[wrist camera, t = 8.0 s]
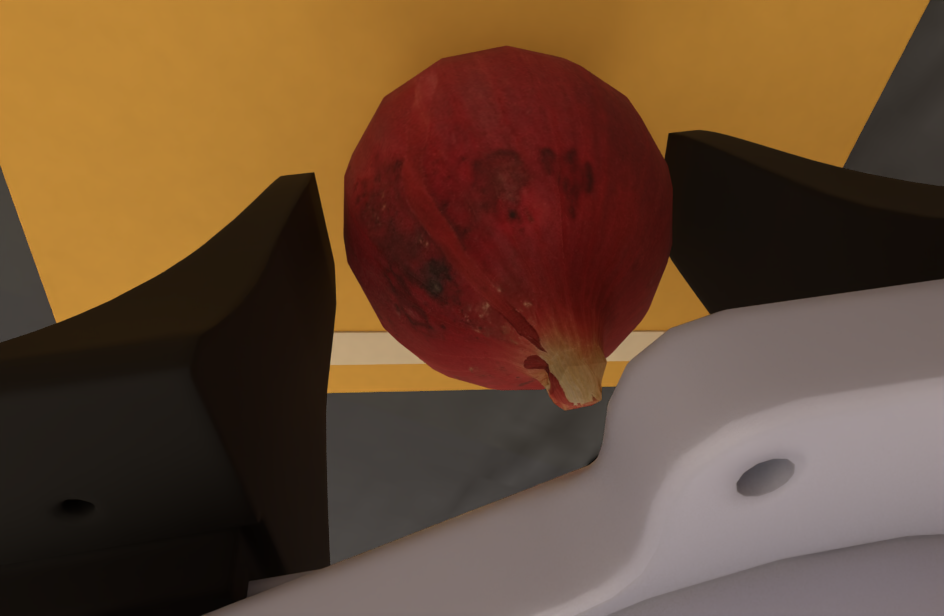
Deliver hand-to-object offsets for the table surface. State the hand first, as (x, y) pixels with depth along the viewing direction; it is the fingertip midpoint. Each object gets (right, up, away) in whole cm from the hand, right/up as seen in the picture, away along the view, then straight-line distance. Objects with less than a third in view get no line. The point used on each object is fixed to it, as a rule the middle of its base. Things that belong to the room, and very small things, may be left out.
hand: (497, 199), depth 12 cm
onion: (-1, +2, +2) cm, 3 cm away
